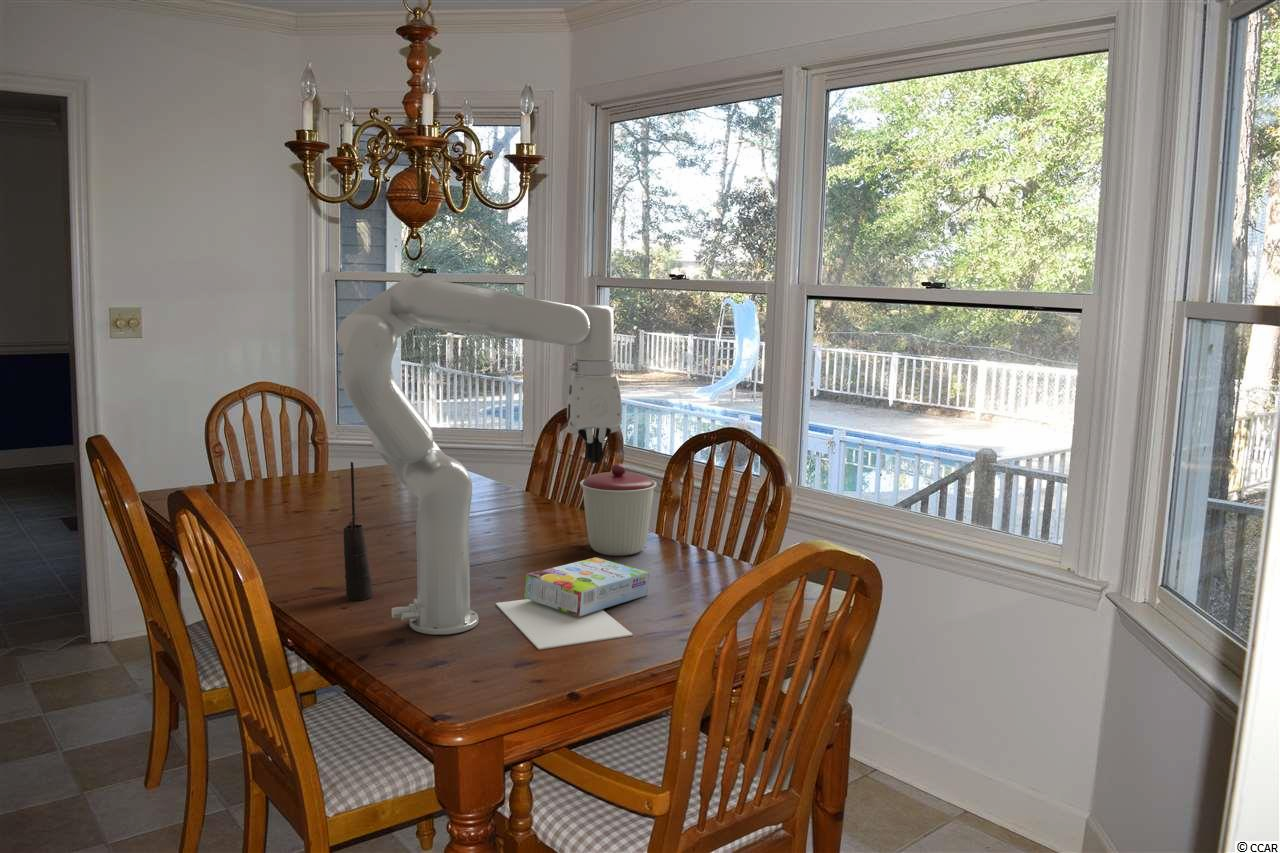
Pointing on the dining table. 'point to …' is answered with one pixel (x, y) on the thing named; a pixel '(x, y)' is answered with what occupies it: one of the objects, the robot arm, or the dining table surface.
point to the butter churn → (356, 558)
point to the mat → (560, 624)
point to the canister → (617, 510)
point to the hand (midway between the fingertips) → (593, 461)
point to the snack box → (586, 586)
